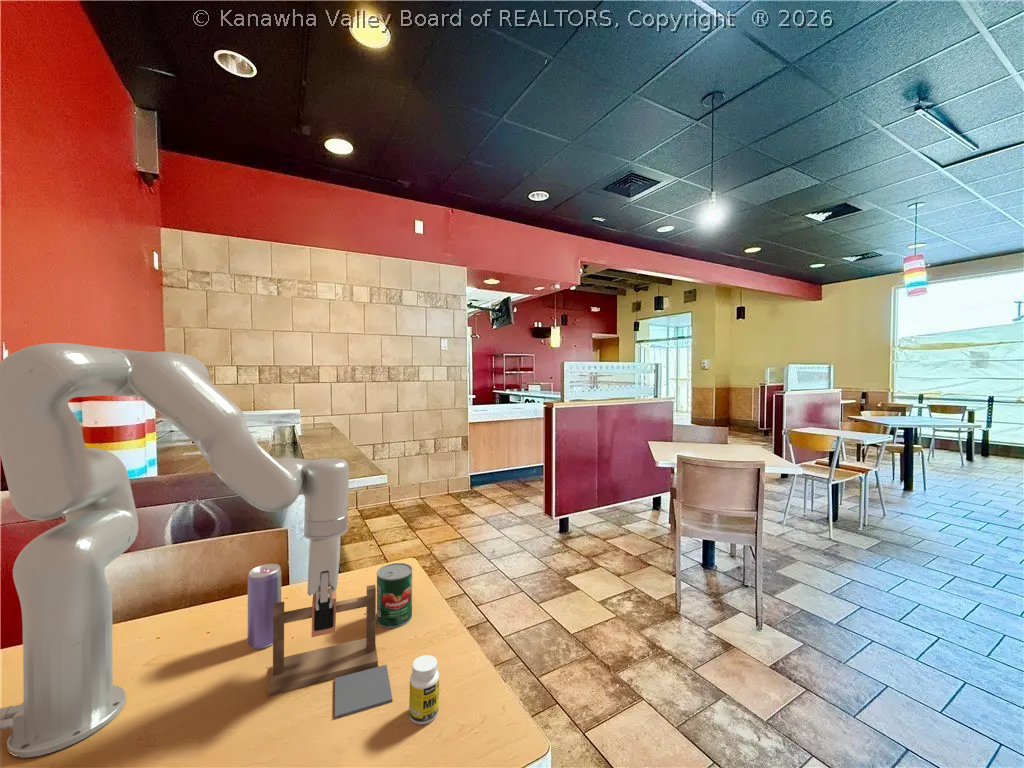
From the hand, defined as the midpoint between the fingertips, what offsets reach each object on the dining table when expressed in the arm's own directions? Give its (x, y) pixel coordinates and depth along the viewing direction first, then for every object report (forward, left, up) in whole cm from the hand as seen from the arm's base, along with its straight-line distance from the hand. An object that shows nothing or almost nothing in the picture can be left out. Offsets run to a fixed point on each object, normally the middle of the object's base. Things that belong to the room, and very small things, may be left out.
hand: (324, 618), depth 77 cm
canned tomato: (+14, +11, -9) cm, 20 cm away
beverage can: (-12, +13, -9) cm, 20 cm away
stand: (0, 0, -9) cm, 9 cm away
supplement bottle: (+15, -18, -9) cm, 26 cm away
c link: (0, 0, -2) cm, 2 cm away
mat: (+6, -9, -9) cm, 14 cm away
